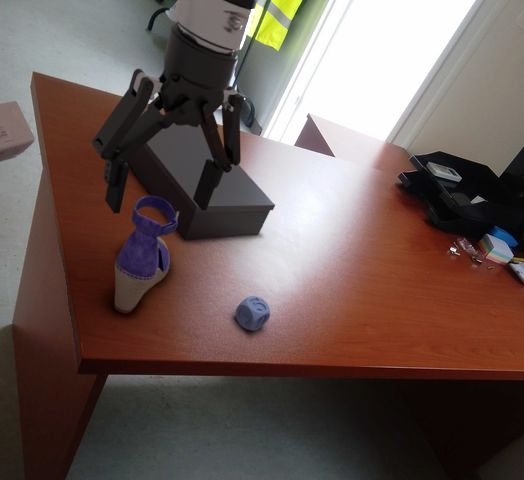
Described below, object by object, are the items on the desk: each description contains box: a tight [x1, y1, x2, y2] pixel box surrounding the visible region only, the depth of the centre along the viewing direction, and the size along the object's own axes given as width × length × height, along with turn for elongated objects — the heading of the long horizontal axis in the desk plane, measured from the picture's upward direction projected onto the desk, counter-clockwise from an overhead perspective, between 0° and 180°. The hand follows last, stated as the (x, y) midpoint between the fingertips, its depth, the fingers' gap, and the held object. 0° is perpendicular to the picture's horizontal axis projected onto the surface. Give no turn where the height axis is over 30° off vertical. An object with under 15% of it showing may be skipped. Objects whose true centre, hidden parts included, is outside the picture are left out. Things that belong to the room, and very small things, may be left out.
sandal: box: [113, 195, 179, 314], centre depth 66 cm, size 8×20×15 cm, turn 170°
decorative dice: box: [235, 295, 271, 331], centre depth 73 cm, size 4×4×4 cm
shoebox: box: [126, 110, 276, 241], centre depth 91 cm, size 31×19×7 cm, turn 39°
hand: (158, 206), depth 63 cm, fingers open, 13 cm apart
